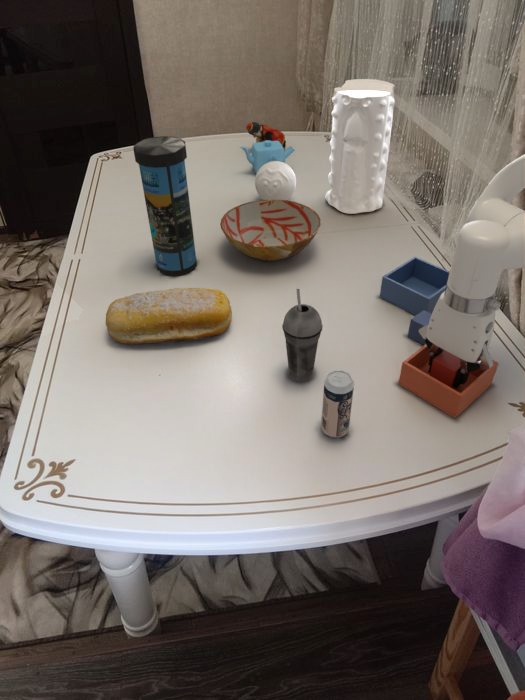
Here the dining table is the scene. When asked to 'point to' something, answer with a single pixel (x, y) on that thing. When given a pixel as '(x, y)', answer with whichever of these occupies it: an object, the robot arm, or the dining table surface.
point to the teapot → (266, 153)
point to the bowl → (270, 228)
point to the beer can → (337, 403)
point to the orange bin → (437, 392)
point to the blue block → (418, 326)
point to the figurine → (265, 133)
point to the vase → (360, 144)
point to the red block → (445, 368)
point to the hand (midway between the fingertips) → (446, 376)
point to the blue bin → (414, 285)
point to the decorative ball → (275, 181)
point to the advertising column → (167, 203)
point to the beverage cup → (301, 339)
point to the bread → (169, 315)
